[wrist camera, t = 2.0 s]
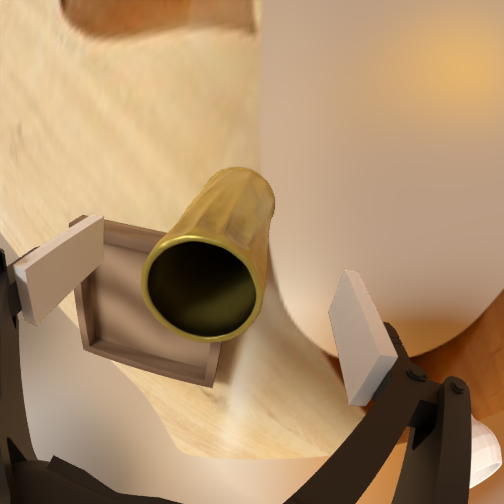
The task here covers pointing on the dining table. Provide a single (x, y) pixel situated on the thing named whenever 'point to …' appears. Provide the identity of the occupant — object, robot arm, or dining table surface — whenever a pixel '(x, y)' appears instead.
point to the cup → (483, 453)
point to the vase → (213, 260)
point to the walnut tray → (135, 313)
